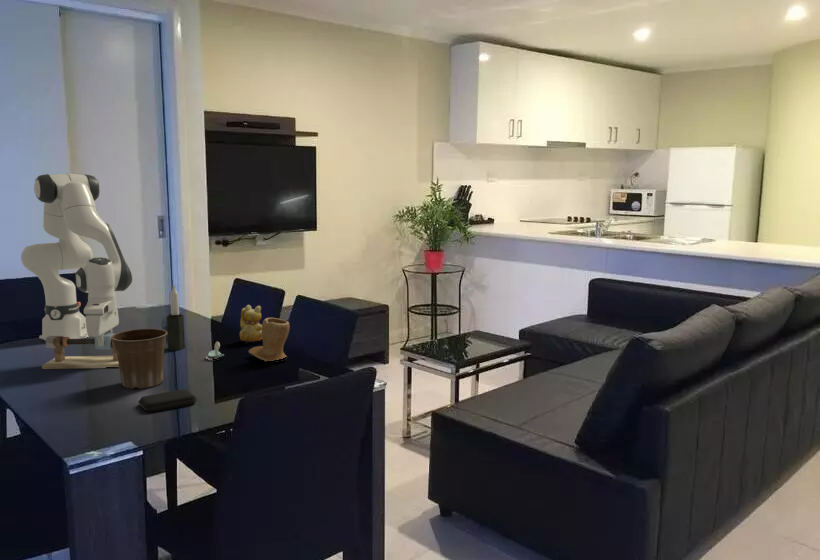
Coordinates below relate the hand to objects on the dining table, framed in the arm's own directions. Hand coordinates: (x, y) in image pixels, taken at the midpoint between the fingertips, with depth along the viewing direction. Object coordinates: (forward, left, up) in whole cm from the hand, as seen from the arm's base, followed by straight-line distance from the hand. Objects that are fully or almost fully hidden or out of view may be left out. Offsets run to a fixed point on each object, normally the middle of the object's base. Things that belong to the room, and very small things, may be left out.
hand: (104, 343), depth 231 cm
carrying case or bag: (+45, +33, -8) cm, 57 cm away
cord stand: (0, -6, -7) cm, 9 cm away
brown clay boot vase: (-3, +57, -7) cm, 58 cm away
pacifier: (-5, +36, -8) cm, 37 cm away
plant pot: (+25, +20, -7) cm, 33 cm away
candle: (-20, +19, -7) cm, 29 cm away
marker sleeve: (0, 0, -1) cm, 1 cm away
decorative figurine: (-28, +46, -7) cm, 54 cm away
